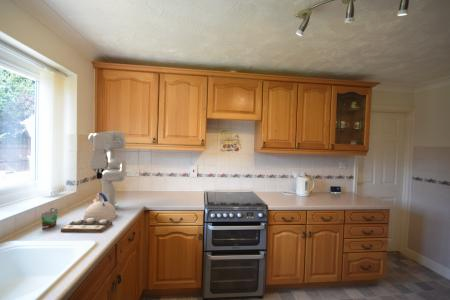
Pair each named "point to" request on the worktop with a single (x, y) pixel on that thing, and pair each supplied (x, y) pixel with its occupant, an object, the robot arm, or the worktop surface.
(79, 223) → the button board
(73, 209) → the worktop surface
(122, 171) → the robot arm
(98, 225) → the pattern card
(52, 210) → the food container
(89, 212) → the kettle
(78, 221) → the button
